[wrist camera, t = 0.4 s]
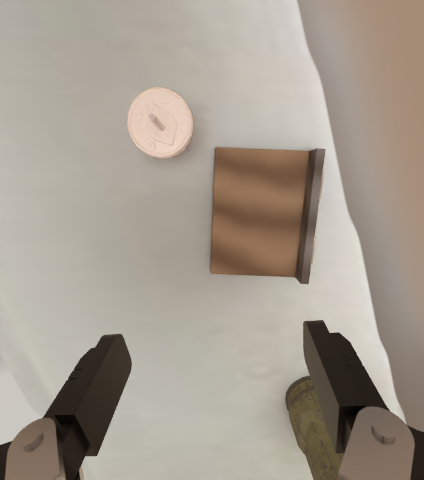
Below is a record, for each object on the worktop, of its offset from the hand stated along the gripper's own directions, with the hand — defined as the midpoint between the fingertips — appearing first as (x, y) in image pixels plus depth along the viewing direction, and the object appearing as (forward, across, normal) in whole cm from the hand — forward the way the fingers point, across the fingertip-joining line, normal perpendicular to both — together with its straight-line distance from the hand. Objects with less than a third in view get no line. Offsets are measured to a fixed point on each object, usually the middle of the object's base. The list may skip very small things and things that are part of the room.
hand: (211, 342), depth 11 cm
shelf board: (+26, -5, +3) cm, 27 cm away
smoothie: (+28, +6, -8) cm, 30 cm away
